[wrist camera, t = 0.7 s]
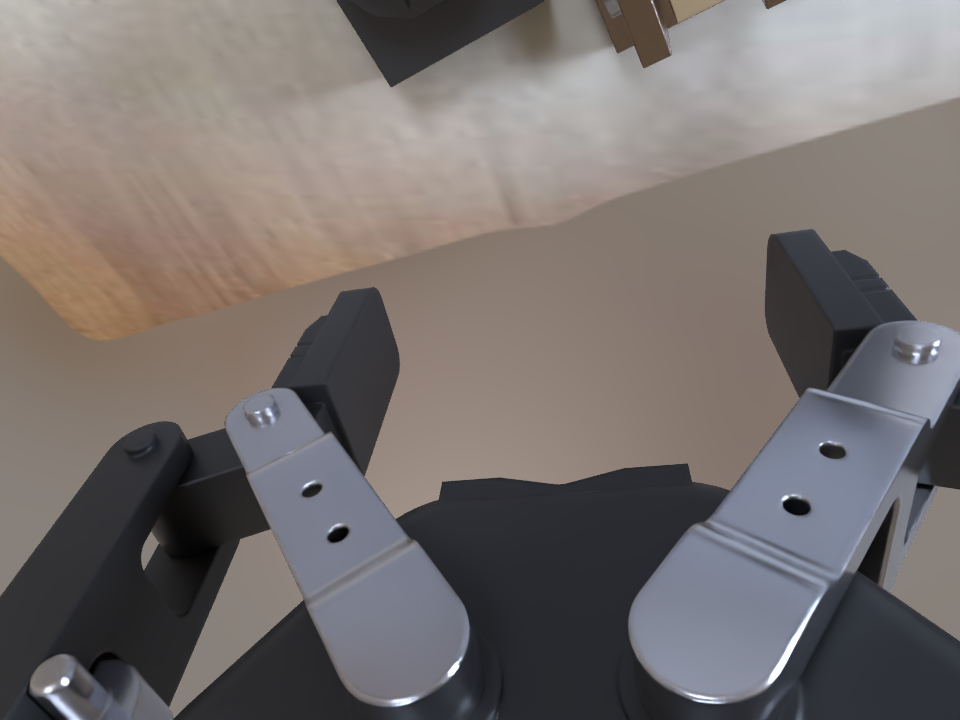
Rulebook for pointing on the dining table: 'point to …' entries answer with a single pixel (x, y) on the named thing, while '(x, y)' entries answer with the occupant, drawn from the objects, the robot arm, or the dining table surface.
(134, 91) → the dining table surface
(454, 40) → the button box
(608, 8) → the bracket
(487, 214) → the dining table surface
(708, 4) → the lever
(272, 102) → the dining table surface
